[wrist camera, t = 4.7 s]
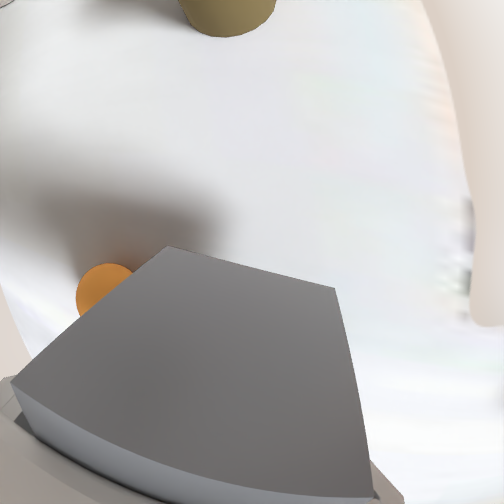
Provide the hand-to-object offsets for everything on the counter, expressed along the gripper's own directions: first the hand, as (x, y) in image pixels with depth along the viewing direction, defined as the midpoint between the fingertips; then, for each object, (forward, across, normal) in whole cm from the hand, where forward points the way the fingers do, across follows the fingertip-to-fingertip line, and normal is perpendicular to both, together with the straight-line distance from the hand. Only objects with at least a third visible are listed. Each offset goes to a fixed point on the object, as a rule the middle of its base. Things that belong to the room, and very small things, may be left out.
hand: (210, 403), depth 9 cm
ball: (+8, +9, +3) cm, 13 cm away
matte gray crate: (+4, 0, 0) cm, 4 cm away
